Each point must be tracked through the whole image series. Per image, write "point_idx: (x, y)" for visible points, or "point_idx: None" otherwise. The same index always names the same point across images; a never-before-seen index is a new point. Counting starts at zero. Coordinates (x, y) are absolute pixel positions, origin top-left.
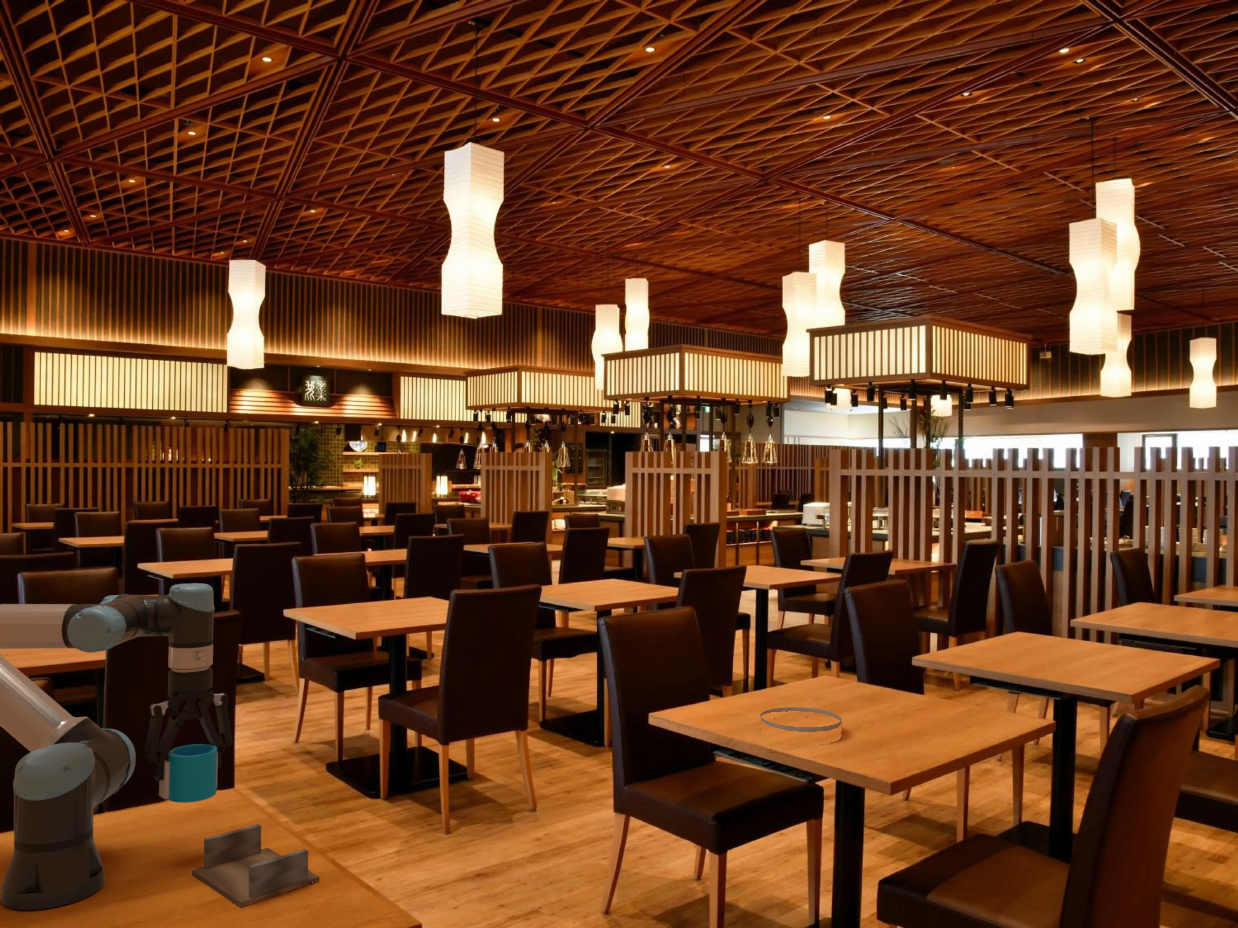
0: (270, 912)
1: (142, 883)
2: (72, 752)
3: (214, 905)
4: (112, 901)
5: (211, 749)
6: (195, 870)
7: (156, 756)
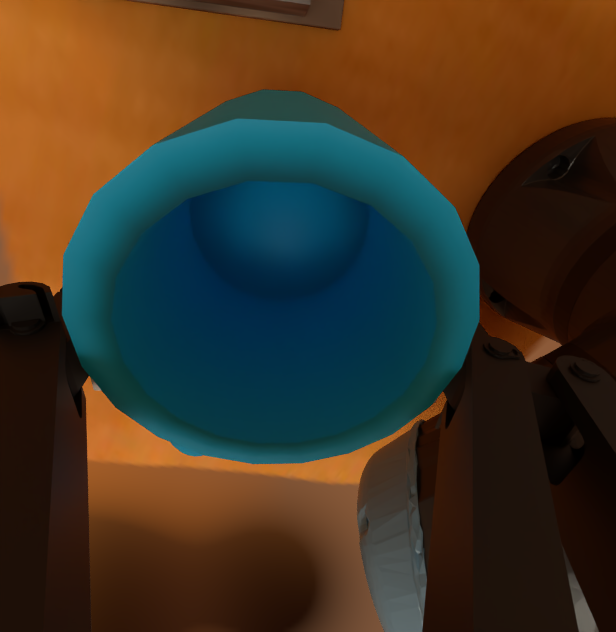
0: None
1: (452, 94)
2: None
3: None
4: (574, 32)
5: (120, 293)
6: (336, 11)
7: (534, 385)
